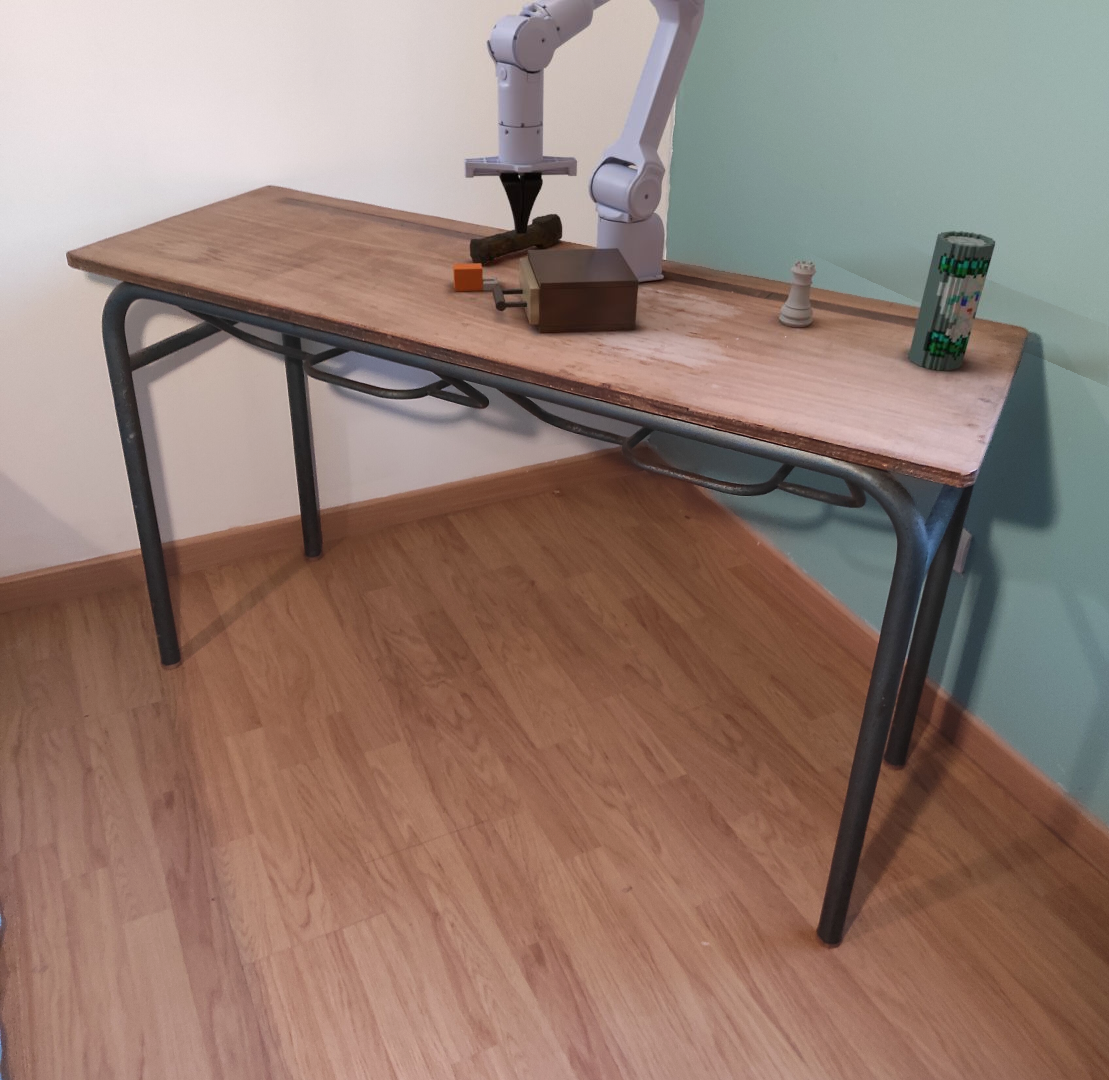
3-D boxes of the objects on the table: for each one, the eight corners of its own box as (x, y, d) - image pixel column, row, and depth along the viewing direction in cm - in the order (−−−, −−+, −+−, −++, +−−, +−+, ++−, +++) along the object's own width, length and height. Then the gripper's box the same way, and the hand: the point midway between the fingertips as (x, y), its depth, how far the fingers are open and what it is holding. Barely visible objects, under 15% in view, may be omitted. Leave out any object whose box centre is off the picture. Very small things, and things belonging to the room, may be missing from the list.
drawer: (498, 325, 123) (497, 289, 121) (490, 292, 134) (489, 258, 131) (617, 322, 125) (619, 286, 123) (600, 289, 136) (602, 256, 133)
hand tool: (485, 268, 145) (485, 237, 143) (468, 261, 147) (467, 231, 145) (573, 244, 156) (574, 215, 154) (556, 238, 159) (557, 210, 156)
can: (932, 373, 116) (965, 249, 108) (899, 354, 121) (927, 234, 112) (971, 365, 118) (1005, 243, 110) (936, 347, 123) (967, 229, 114)
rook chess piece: (792, 330, 127) (802, 270, 122) (771, 318, 130) (780, 260, 126) (818, 325, 128) (829, 265, 124) (797, 314, 132) (807, 256, 127)
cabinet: (539, 332, 124) (540, 282, 120) (527, 296, 135) (527, 249, 132) (635, 329, 126) (638, 280, 122) (615, 294, 137) (617, 247, 133)
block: (454, 291, 136) (454, 269, 135) (453, 285, 138) (453, 263, 137) (498, 290, 137) (498, 268, 135) (496, 284, 139) (496, 262, 137)
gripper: (465, 130, 117) (468, 241, 125) (582, 128, 119) (578, 238, 127) (461, 118, 123) (465, 226, 131) (573, 117, 125) (570, 223, 133)
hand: (520, 231), depth 129 cm, fingers closed
